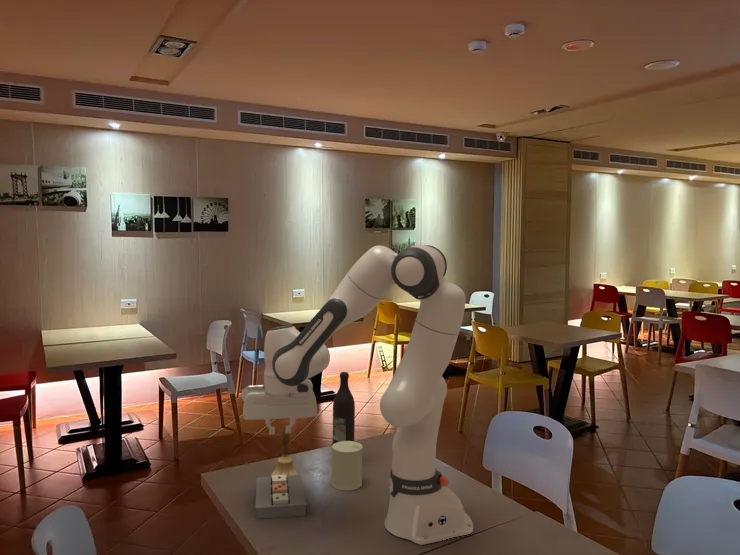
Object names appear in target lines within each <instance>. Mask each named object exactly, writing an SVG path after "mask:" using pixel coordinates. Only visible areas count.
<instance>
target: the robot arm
mask: <svg viewBox="0 0 740 555" xmlns="http://www.w3.org/2000/svg"><path fill="white" fill-rule="evenodd" d="M447 269H448V262H447V258H446V257H445V254H444V253H443V252H442V251H441V250H440V249H439V248H438V247H435V246H433V245H428V244H427V245H426V244H416V245H412V246H410V247H407V248H404V249H402V250H401V251H400V252H398V253H397V252H395V251H394V250H392V249H391V248H389V247H387V246H385V245H375V246H372V247H370V248H369V249H368V250H367V251H366V252H365V253H364V254H363V255H361V257H360V258H359V259H357V261H355V263H354V264H353V265H352V266H351V268H350V269H349V270H348V271H347V272H346V274H345V275H344V277H343V278H342V280H341V281H340V282H339V284H338V285H337V286H336V288H335V289H334V290H333V293H331V295H330V296H329V298H328V299H327V300H326V302H325V303H324V304H323V305H322V307H321V308H320V310H318V311H317V312H316V314H315V315H314V316H313V317H312V318H311V320H309V322H308V323H307V325H305V327H304V328H303V329H302V330H301V331H299V330H298V329H297V328H296V326H293V325H289V324H288V325H287V324H286V325H281V326H275V327H272V328H269V329H268V330H267V332H266V334H265V338H264V345H263V346H264V347H263V360H264V363H265V368H264V372H263V384H256V385H252V384H249V385H247V386H245V387H244V388H242V389H241V400H242V401H243V407H242V418H243V419H244V420H245V421H259V420H265V425H266V427H267V428H268V429H269V430H268V433H269V435H270V436H271V435H275V433H276V427H275V426H272V424H271V423H272V422H271V420H283V419H289V424H288V425H287V426H286V434H289V435H291V434H292V428H293V426H294V425H295V424H296V419H302V418H303V419H304V418H315V417H316V416H317V414H318V404H317V399H316V395H315V393H314V390H313V388H314V387H313V383H312V381H311V380H310V379H311V378H312V377H315V376H317V375H318V374H320V373H321V372H324V371H325V370H326V369H327V368H328V366H329V364H330V361H331V355H330V351H329V348H328V346H327V345H326V343H327V341H329V339H330V338H331V337H332V336H333V335H334V334H335V333H336V332H337V331H338V330H340V329H342V328H343V327H345V326H348V325H349V324H350V323H353V322H355V321H358V320H359V319H361V318H364V317H365V316H367V315H368V314H370V312H372V311H373V310H374V309H375V308H376V307H377V306H378V305H379V304H380V303H381V301H382V299H383V298H384V297H385V295H386V294H387V293H388V292H389V291H390V290H391V288H393V287H394V286H395V285H396V286H398V287H399V288H400V289H401V290H403V291H405V292H406V293H407V294H409V295H410V296H412V297H413V298H415V299H416V300H420V301H419V307H418V312H417V315H416V318H415V321H414V324H413V327H412V331H411V335H410V338H409V341H408V343H407V347H406V350H405V352H404V353H403V356H402V358H401V360H400V362H399V363H398V366H397V367H396V370H395V371H394V374H393V376H392V379H391V380H390V383H389V385H388V386H387V388H386V389H385V390H384V392H383V394H382V395H381V397H380V401H379V410H380V414H381V416H382V417H383V419H384V420H385V422H386V423H388V424H389V425H391V426H393V427H394V428H395V427H396V431H395V434H394V435H393V438H392V443H391V444H392V446H391V447H392V452H391V454H392V457H391V469H390V471H389V472H390V473H389V482H388V483H389V493H390V496H389V497H390V498H389V503H388V508H387V514H386V516H385V519H384V527H385V529H386V530H387V531H388V532H389V533H390V534H392V535H394V536H395V537H397V538H402V539H406V540H408V541H412V542H413V543H415V544H418V545H421V546H422V545H427V544H432V543H437V542H442V540H443V541H447V540H446V539H448V540H450V539H449V538H452V537H457V536H460V535H466V534H469V533H472V532H473V533H474V530H473V529H474V523H473V521H472V519H471V517H470V516H469V514H467V513H466V512H465V510H464V507H463V504H462V501H461V500H460V498H459V497H458V496H457V495H456V494H455V493H454V492H453V491H452V490H450V489H449V488H448V486H449V484H450V483H449V479H447V478H448V477H446V476H444V475H443V473H441V471H439V470H438V469H437V468H436V466H437V465H436V464H437V463H436V461H437V460H436V459H437V457H436V456H437V444H438V443H437V441H438V436H439V429H440V426H441V420H442V413H443V407H444V403H445V400H446V397H447V394H448V384H447V381H446V380H445V378H444V376H443V374H444V373H445V371H446V370H447V367H448V366H449V364H450V362H451V359H452V356H453V352H454V350H455V346H456V345H457V344H456V343H457V340H458V336H459V335H460V331H461V327H462V323H463V319H464V315H465V309H466V300H467V298H466V294H465V292H464V290H463V289H462V288H461V287H460V286H459V285H457V284H455V283H453V282H449V281H448V280H447V279H446V277H445V276H446V273H447ZM469 526H470V527H469ZM473 533H472V534H473ZM457 538H458V537H457ZM452 539H453V538H452Z"/></svg>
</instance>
